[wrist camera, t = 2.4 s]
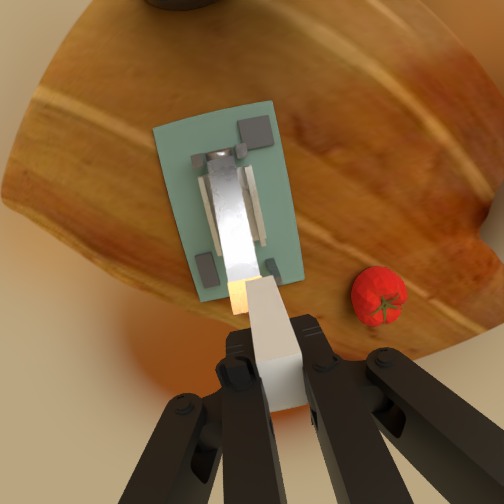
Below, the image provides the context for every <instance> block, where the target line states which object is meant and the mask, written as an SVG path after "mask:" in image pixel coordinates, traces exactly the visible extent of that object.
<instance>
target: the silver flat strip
mask: <svg viewBox="0 0 504 504" xmlns="http://www.w3.org/2000/svg"><path fill="white" fill-rule="evenodd" d="M205 155H206V160H207V165H208V171H209V177H210V183H211V189H212V195H213V201H214V207H215V213H216V218H217V224H218V229H219V235H220V240H221V246H222V251H223V257H224V262H225V267H226V273H227V278H228V283H227V284H228V289H229V294H230V299H231V304H232V309H233V314H234V316H236V315H240V314H245V313H249V309H248V302H247V294H246V287H245V281H249V280H254V279H258V278H262V276H260V272H259V267H258V263H257V258H256V254H255V250H254V245H253V241H252V236H251V232H250V227H249V223H248V218H247V214H246V210H245V205H244V201H243V196H242V192H241V187H240V183H239V179H238V174H237V170H236V165H235V161H234V157H233V152H232V148H231V147H228V148H224V149H220V150H215V151H211V152H207V153H205Z"/></svg>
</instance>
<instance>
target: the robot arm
mask: <svg viewBox="0 0 504 504" xmlns="http://www.w3.org/2000/svg"><path fill="white" fill-rule="evenodd" d="M146 1H147V2H149V3H150V4H151V5H153V6H155V7H158V8H161V9H165V10H175V11H180V10H190V9H196V8H200V7H203V6H206V5H209V4H211V3H214V2H216V1H218V0H146ZM245 287H246V294H247V302H248V309H249V316H250V323H251V328H248V329H243V330H238V331H233V332H230V333H229V335H228V337H227V339H226V357H225V358H224V359H222V360H221V361H220V362H219V363H218V364H217V366H216V369H215V370H216V373H217V376H218V378H219V381H220V383H221V386H222V387H221V388H220V389H219V390H218V391H217V392H215V393H213V394H211V395H208V396H206V397H203V398H200V397H199V396H197V395H196V394H192V393H183V394H180V395H177V396H175V397H174V398H173V399H171V400H170V401H169V402H168V404H167V405H166V407H165V409H164V411H163V413H162V415H161V417H160V419H159V421H158V423H157V425H156V427H155V429H154V431H153V433H152V435H151V437H150V439H149V441H148V443H147V445H146V447H145V450H144V452H143V453H142V455H141V458H140V460H139V462H138V464H137V466H136V468H135V470H134V472H133V474H132V476H131V478H130V480H129V482H128V484H127V486H126V488H125V490H124V492H123V494H122V496H121V498H120V500H119V503H118V504H208V500H209V497H210V494H211V490H212V487H213V483H214V480H215V477H216V473H217V470H218V466H219V463H220V459H221V456H222V454H223V491H224V504H287V499H286V494H285V489H284V483H283V478H282V473H281V467H280V462H279V456H278V451H277V445H276V440H275V434H274V429H273V423H272V420H271V417H270V412H274V411H278V410H283V409H288V408H293V407H297V406H301V405H305V404H308V402H309V405H310V412H311V422H312V425H314V427H315V430H316V433H317V437H318V440H319V443H320V446H321V450H322V453H323V456H324V460H325V463H326V466H327V469H328V473H329V476H330V479H331V483H332V486H333V489H334V493H335V496H336V499H337V503H338V504H414V503H413V501H412V498H411V496H410V494H409V492H408V490H407V488H406V485H405V483H404V481H403V479H402V477H401V475H400V473H399V471H398V468H397V466H396V464H395V462H394V460H393V458H392V456H391V454H390V452H389V450H388V448H387V446H386V444H385V442H384V440H383V437H382V435H381V433H380V431H381V432H382V433H383V435H384V436H385V437H386V438H387V439H388V440H389V441H390V442H391V443H392V444H393V445H394V446H395V447H396V448H397V449H398V450H399V452H400V453H401V454H402V455H403V456H404V457H405V458H406V459H407V460H408V461H409V462H410V463H411V464H412V465H413V466H414V467H415V468H416V469H417V470H418V471H419V472H420V473H421V474H422V475H423V476H424V477H425V478H426V480H427V481H429V482H430V484H432V486H433V487H434V488H435V489H436V490H437V491H438V492H439V493H440V494H441V495H442V496H443V497H444V498H445V499H446V500H447V501H448V502H449V503H450V504H504V430H503V429H501V428H500V427H499V426H497V425H496V424H495V423H493V422H492V421H491V420H490V419H488V418H487V417H486V416H484V415H483V414H482V413H480V412H479V411H478V410H476V409H475V408H474V407H473V406H471V405H470V404H469V403H467V402H466V401H465V400H463V399H462V398H461V397H459V396H458V395H457V394H455V393H454V392H453V391H451V390H450V389H449V388H447V387H446V386H445V385H443V384H442V383H441V382H440V381H438V380H437V379H436V378H434V377H433V376H432V375H430V374H429V373H428V372H426V371H425V370H424V369H422V368H421V367H420V366H418V365H417V364H416V363H414V362H413V361H412V360H410V359H409V358H408V357H406V356H405V355H404V354H402V353H401V352H400V351H398V350H396V349H394V348H388V347H385V348H379V349H376V350H373V351H372V352H371V353H370V354H369V355H368V357H367V359H366V360H363V361H347V360H343V359H342V358H341V357H340V356H339V355H337V354H335V353H334V352H333V350H332V348H331V346H330V344H329V343H328V341H327V339H326V337H325V335H324V333H323V331H322V329H321V327H320V325H319V323H318V321H317V320H316V318H314V317H313V316H311V315H309V314H306V315H302V316H298V317H294V318H289V317H288V315H287V312H286V309H285V307H284V304H283V301H282V299H281V296H280V293H279V291H278V288H277V285H276V282H275V280H274V277H273V275H272V276H267V277H263V278H258V279H254V280H249V281H245ZM379 430H380V431H379Z"/></svg>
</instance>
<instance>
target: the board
mask: <svg viewBox="0 0 504 504" xmlns="http://www.w3.org/2000/svg"><path fill="white" fill-rule="evenodd" d="M153 133H154V137H155V141H156V146H157V150H158V154H159V159H160V163H161V167H162V171H163V175H164V179H165V183H166V187H167V191H168V194H169V198H170V202H171V206H172V209H173V213H174V217H175V220H176V224H177V227H178V231H179V234H180V238H181V241H182V244H183V248H184V251H185V254H186V258H187V261H188V264H189V267H190V271H191V274H192V277H193V280H194V283H195V286H196V289H197V292H198V295H199V298H200V301H201V302H205V301H210V300H215V299H220V298H225V297H230V294H229V289H228V284H227V283H228V278H227V273H226V267H225V262H224V257H223V255H222V256H218V255H217V252H216V249H215V245H214V241H213V238H212V234H211V230H210V226H209V222H208V218H207V214H206V210H205V206H204V202H203V198H202V194H201V190H200V186H199V182H198V178H197V177H198V176H202V175H206V174H209V171H208V165H206V166H205V167H201V168H197V169H193V165H192V161H191V157H190V156H191V155H195V154H199V153H207V152H211V151H215V150H220V149H224V148H228V147H231V148H232V152H233V157H234V161H235V165H236V167H240V166H245V165H249V164H251V165H252V170H253V174H254V179H255V184H256V189H257V193H258V198H259V203H260V208H261V213H262V217H263V222H264V227H265V232H266V237H267V238H266V239H265V241H266V246H263V247H262V246H261V243H260V240H257V241H254V244H255V248H254V250H255V254H256V258H257V263H258V267H259V272H260V276H262V278H263V277H266V276H270V275H269V272H268V269H267V265H266V260H265V259H269V258H274V260H275V262H276V265H277V267H278V270H279V272H280V275H281V278H282V284H283V285H284V284H288V283H293V282H297V281H301V280H305V276H304V269H303V262H302V256H301V249H300V243H299V237H298V230H297V224H296V218H295V213H294V207H293V201H292V196H291V190H290V185H289V179H288V174H287V169H286V164H285V159H284V154H283V149H282V144H281V139H280V134H279V129H278V125H277V120H276V115H275V111H274V106H273V102H272V100H270V101H264V102H258V103H252V104H247V105H241V106H236V107H231V108H227V109H222V110H218V111H213V112H209V113H205V114H201V115H197V116H193V117H189V118H186V119H182V120H178V121H175V122H172V123H168V124H165V125H162V126H158V127H155V128H153ZM242 143H246V147H247V152H248V156H249V157H244V158H240V159H237V157H236V152H235V148H234V145H237V144H242Z"/></svg>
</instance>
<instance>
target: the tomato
mask: <svg viewBox="0 0 504 504" xmlns="http://www.w3.org/2000/svg"><path fill="white" fill-rule="evenodd" d="M351 300H352V304H353V306H354V312H355V314H356V315H357V317H358V318H359V320H360V321H361V322H362V323H364V324H367V325H370V326H373V327H375V326H379V325H380V324H382V323H383V324H384V323H387V324H388V323H391V322H393V321H395V320H396V319H397V318H398V316H399V315H400V313H401V309H402V308H401V304H403V303H405V302H406V300H407V290H406V287H405V285H404V282H403V280H402V279H401V278H400V277H399V276H398V275H396V274H395V273H394V272H393V271H391V270H390V269H388V268H386V267H380V266H375V267H370V268H368V269H366V270H364V271H363V272H362V273H360V274H359V275H358V276H357V278H356V279H355V281H354V283H353V286H352V291H351Z"/></svg>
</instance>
